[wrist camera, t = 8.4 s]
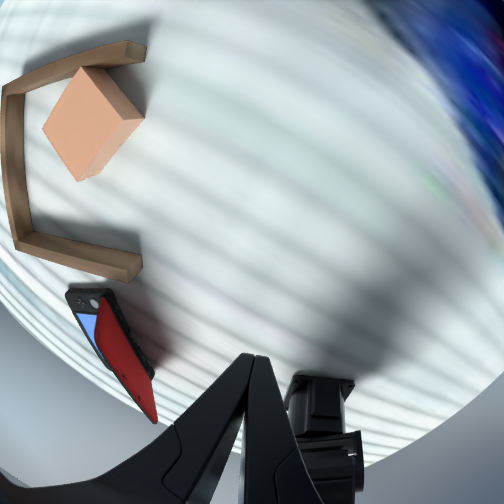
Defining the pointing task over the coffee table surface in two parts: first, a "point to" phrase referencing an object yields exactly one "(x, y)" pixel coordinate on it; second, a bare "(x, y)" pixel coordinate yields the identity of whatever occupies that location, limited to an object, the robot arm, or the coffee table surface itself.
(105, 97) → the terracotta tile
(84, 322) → the handheld game console
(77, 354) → the coffee table surface
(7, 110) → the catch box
